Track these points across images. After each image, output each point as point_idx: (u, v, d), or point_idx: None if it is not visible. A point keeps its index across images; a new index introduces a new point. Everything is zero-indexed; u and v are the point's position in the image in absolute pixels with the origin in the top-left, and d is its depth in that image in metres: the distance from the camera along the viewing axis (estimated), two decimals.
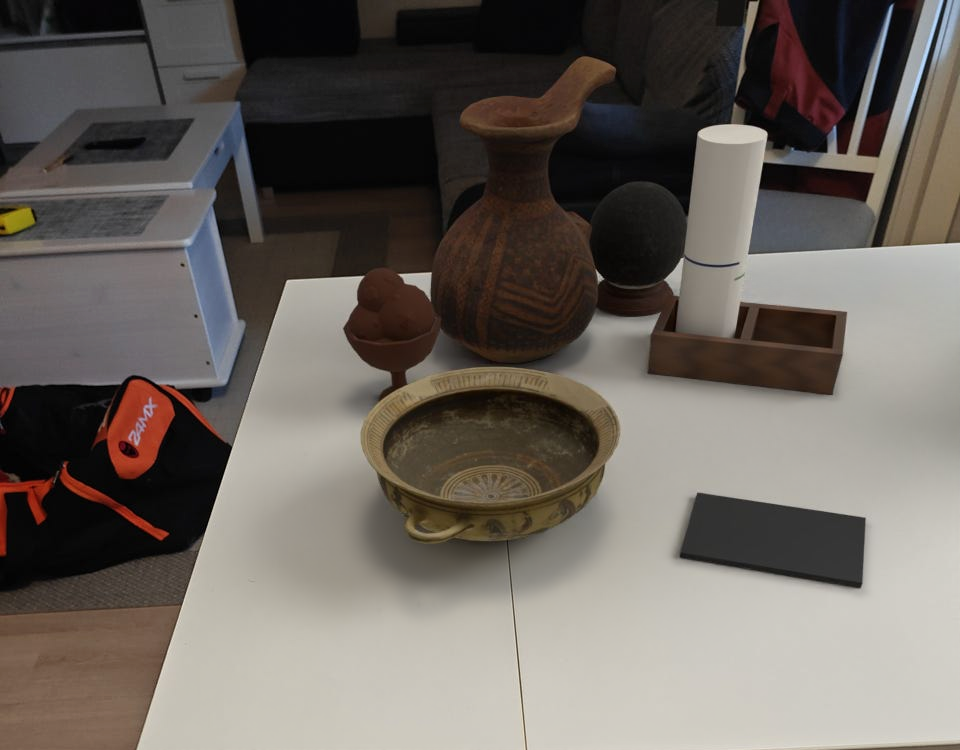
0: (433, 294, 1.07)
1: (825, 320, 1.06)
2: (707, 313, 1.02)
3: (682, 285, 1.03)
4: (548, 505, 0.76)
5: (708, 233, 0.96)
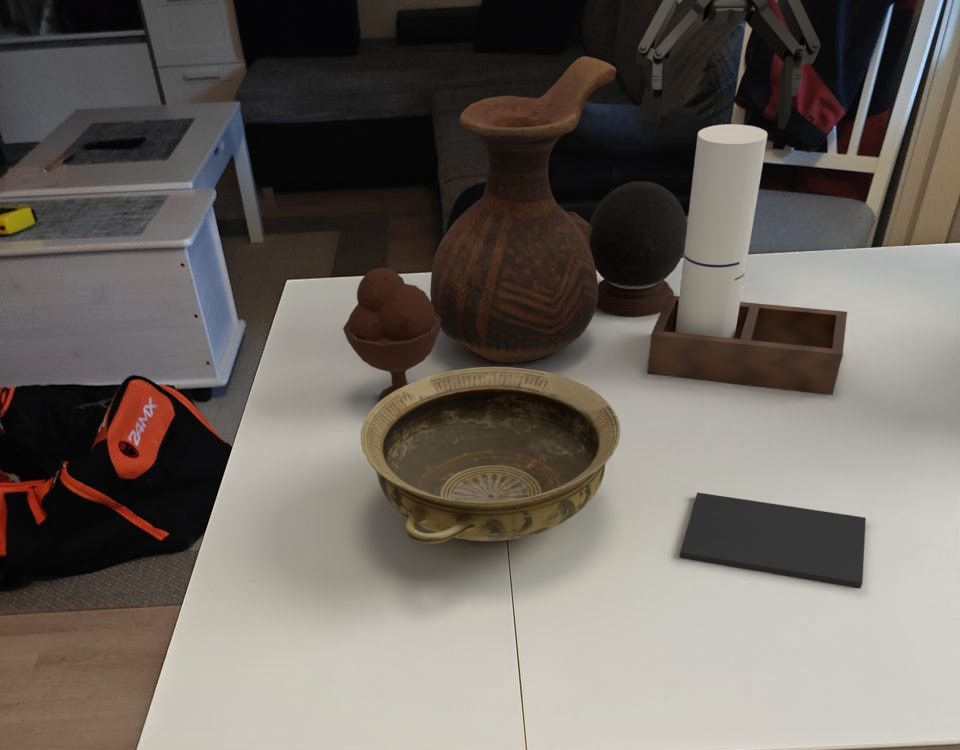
0: (434, 294, 1.07)
1: (825, 320, 1.06)
2: (707, 313, 1.02)
3: (682, 285, 1.03)
4: (548, 505, 0.76)
5: (708, 233, 0.96)
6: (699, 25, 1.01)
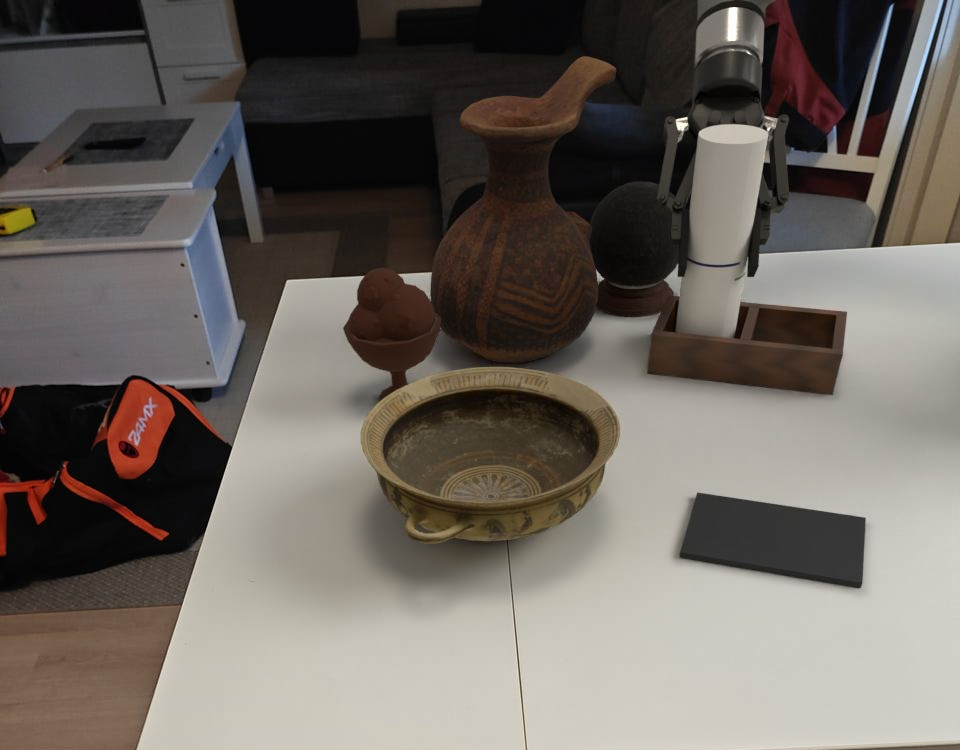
0: (434, 294, 1.07)
1: (825, 320, 1.06)
2: (707, 313, 1.02)
3: (682, 285, 1.03)
4: (548, 505, 0.76)
5: (708, 233, 0.96)
6: None
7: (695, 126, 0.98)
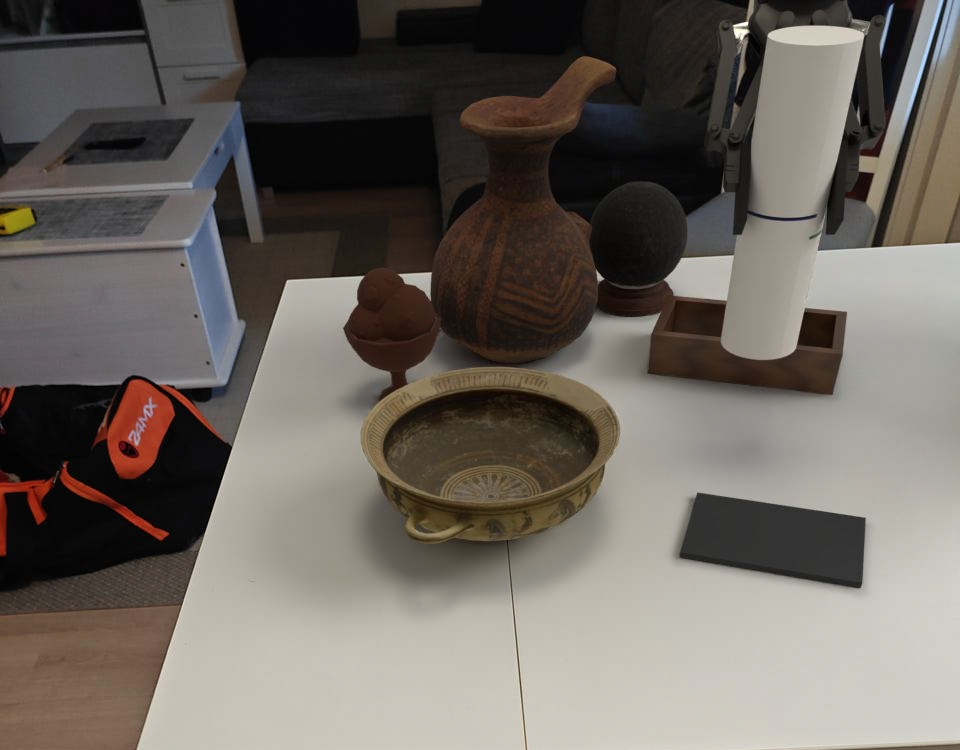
0: (434, 294, 1.07)
1: (825, 320, 1.06)
2: (770, 283, 0.78)
3: (738, 247, 0.78)
4: (548, 505, 0.76)
5: (777, 174, 0.72)
6: None
7: (759, 33, 0.74)
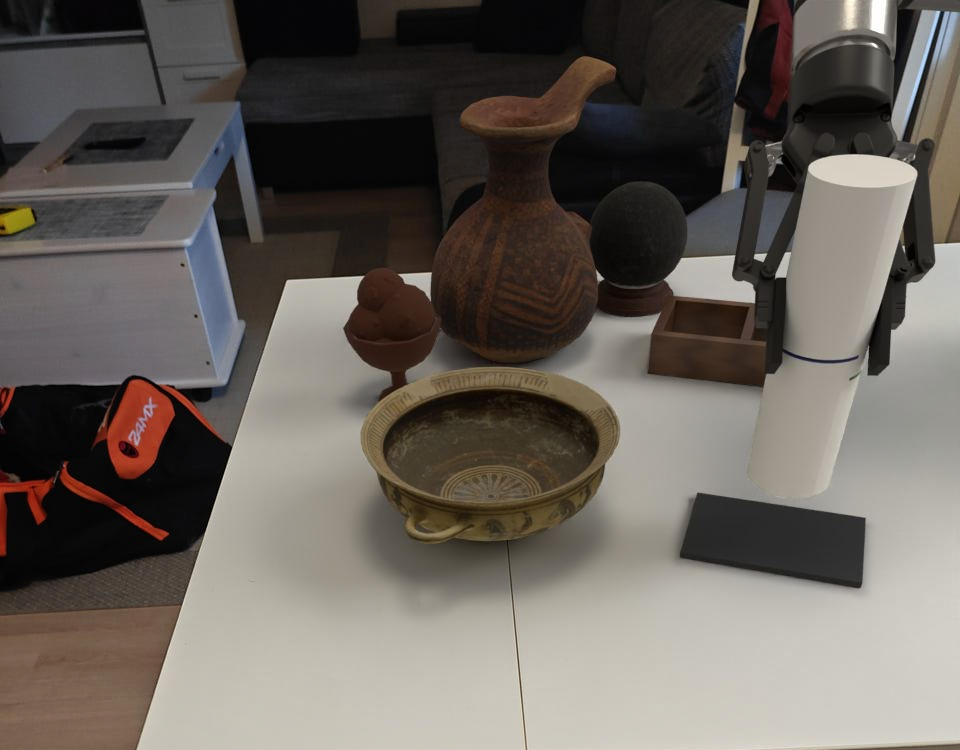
0: (434, 294, 1.07)
1: None
2: (805, 424, 0.70)
3: (769, 383, 0.71)
4: (548, 505, 0.76)
5: (817, 316, 0.65)
6: None
7: (794, 155, 0.67)
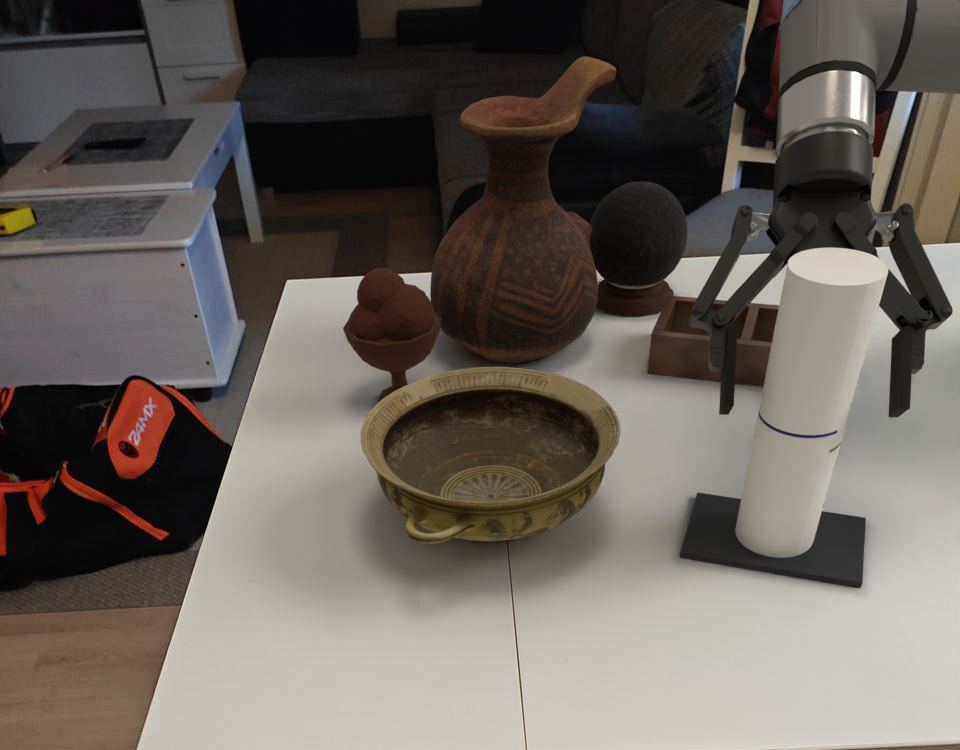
0: (434, 294, 1.07)
1: None
2: (788, 492, 0.75)
3: (754, 452, 0.76)
4: (548, 505, 0.76)
5: (797, 396, 0.69)
6: (777, 273, 0.73)
7: (775, 230, 0.71)
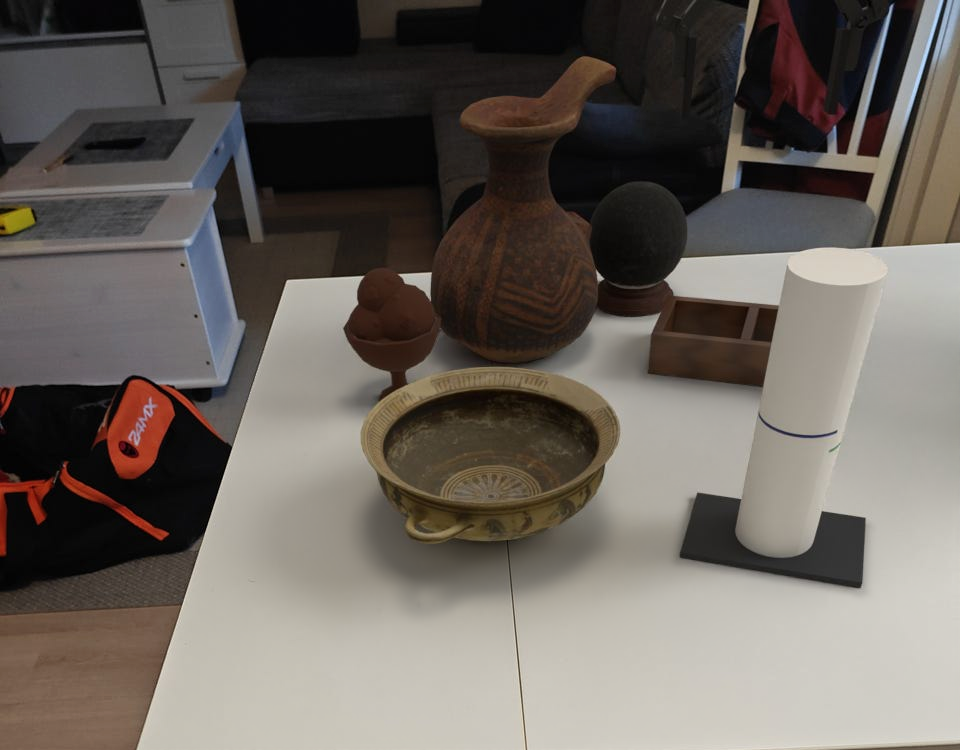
0: (434, 294, 1.07)
1: None
2: (788, 492, 0.75)
3: (754, 452, 0.76)
4: (548, 505, 0.76)
5: (797, 396, 0.69)
6: None
7: None
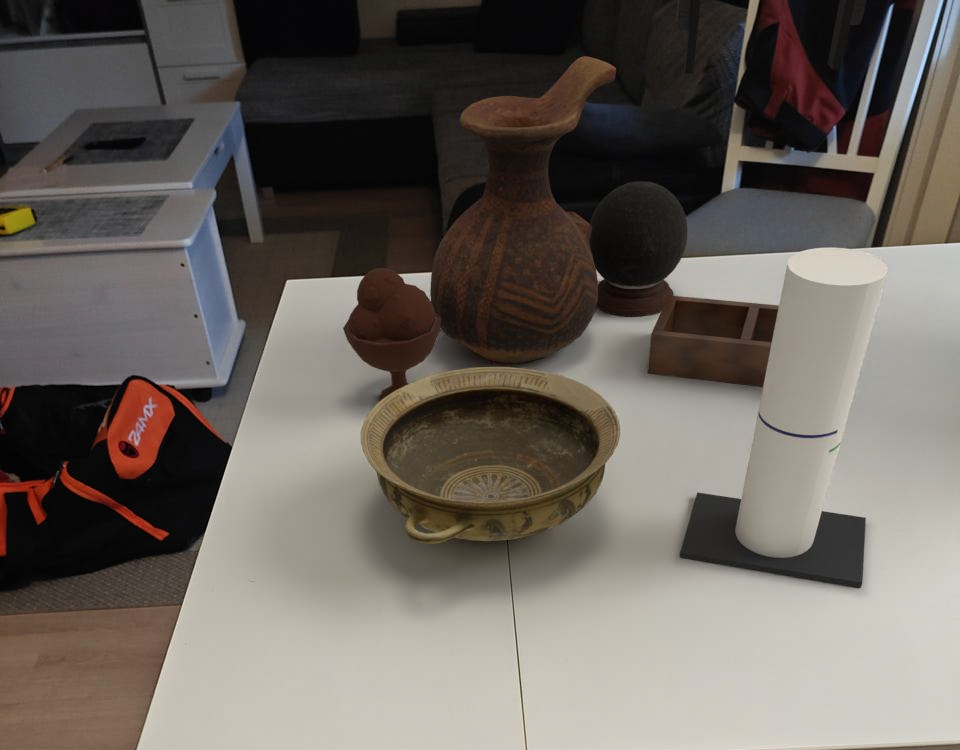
0: (434, 294, 1.07)
1: None
2: (788, 492, 0.75)
3: (754, 452, 0.76)
4: (548, 505, 0.76)
5: (797, 396, 0.69)
6: None
7: None
